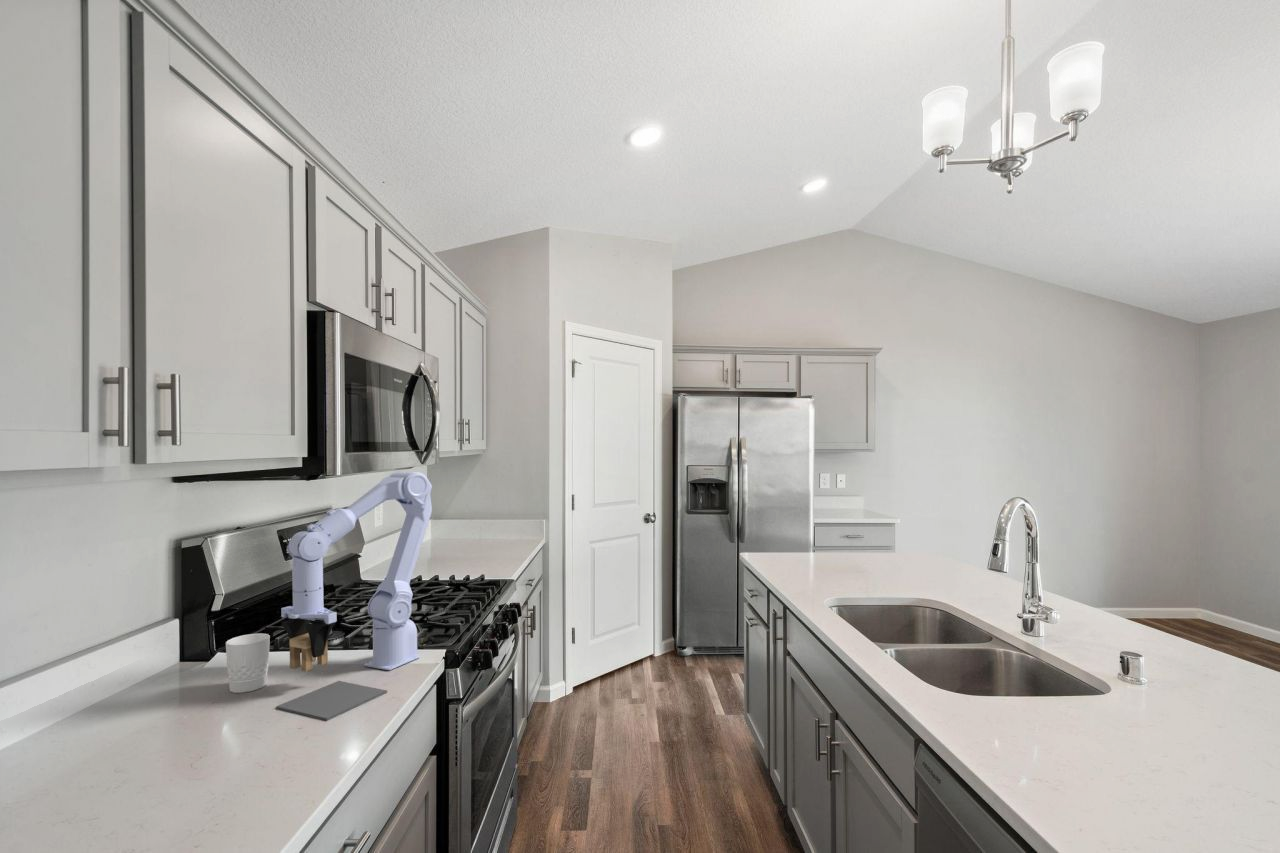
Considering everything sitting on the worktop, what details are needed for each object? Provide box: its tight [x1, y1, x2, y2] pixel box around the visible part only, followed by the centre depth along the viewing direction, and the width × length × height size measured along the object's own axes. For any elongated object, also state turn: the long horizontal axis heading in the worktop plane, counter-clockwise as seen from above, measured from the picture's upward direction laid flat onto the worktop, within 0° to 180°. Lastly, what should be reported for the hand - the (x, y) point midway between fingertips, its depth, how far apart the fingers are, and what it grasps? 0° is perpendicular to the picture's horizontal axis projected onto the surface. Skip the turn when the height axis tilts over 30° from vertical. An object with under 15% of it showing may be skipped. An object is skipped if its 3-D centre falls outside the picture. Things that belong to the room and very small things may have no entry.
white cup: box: [225, 633, 271, 694], centre depth 133 cm, size 8×8×10 cm
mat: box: [276, 680, 388, 721], centre depth 125 cm, size 14×14×1 cm
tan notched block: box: [288, 633, 329, 672], centre depth 132 cm, size 5×5×6 cm
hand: (309, 654), depth 132 cm, fingers closed on tan notched block, 5 cm apart
